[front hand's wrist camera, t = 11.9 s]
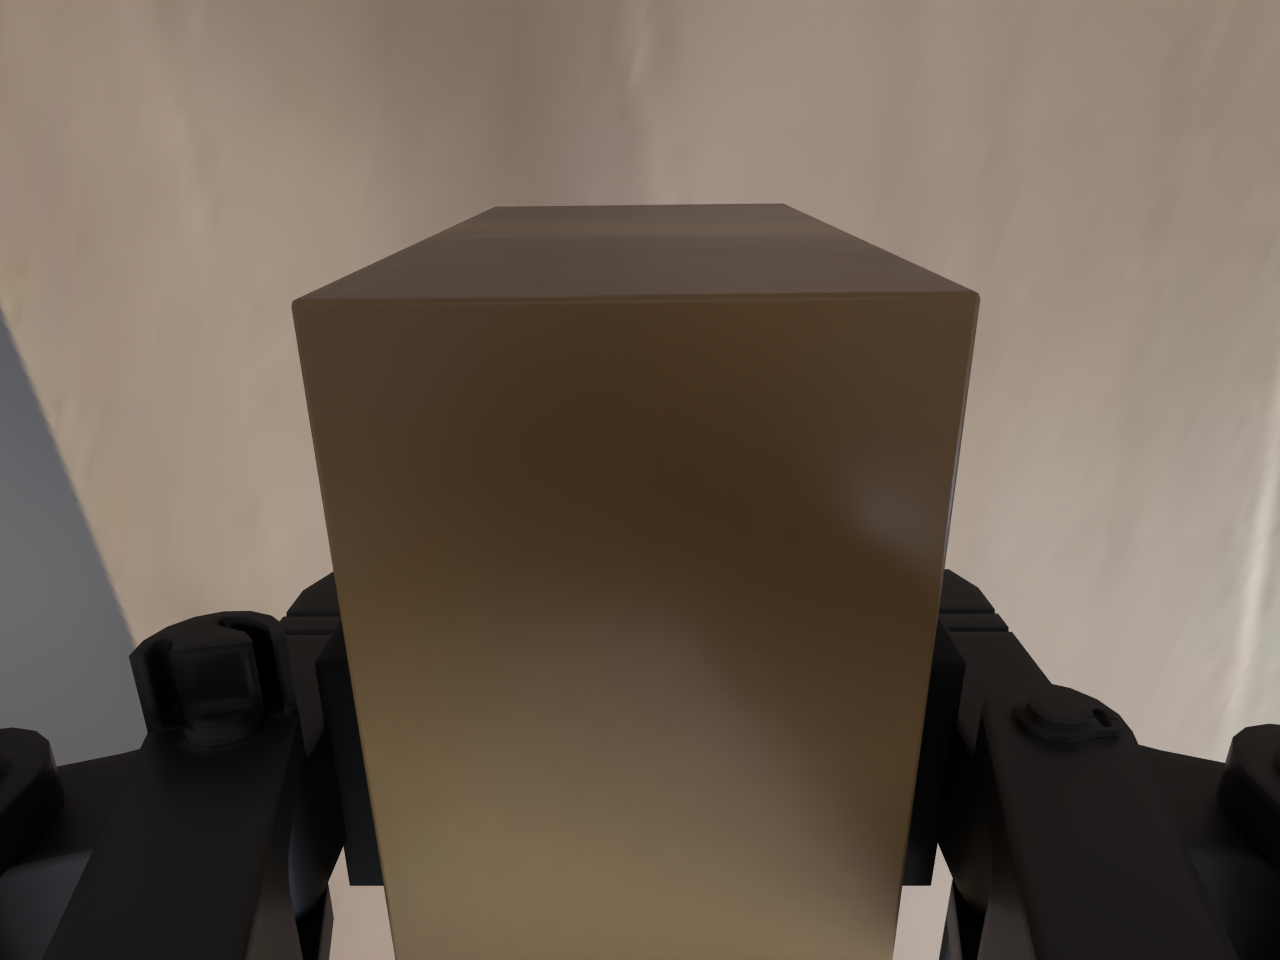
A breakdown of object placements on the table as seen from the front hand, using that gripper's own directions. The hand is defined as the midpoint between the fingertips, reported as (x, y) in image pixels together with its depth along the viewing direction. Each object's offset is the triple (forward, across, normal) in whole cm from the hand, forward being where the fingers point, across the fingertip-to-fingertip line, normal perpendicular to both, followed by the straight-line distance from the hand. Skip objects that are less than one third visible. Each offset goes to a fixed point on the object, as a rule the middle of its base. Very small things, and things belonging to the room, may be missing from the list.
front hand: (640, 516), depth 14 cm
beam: (+1, 0, -30) cm, 30 cm away
